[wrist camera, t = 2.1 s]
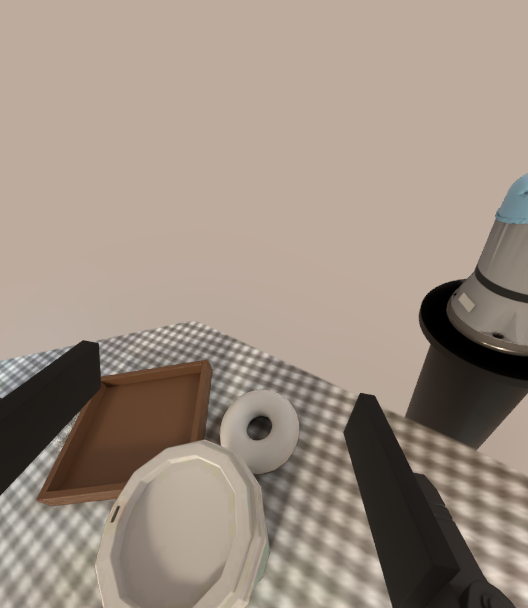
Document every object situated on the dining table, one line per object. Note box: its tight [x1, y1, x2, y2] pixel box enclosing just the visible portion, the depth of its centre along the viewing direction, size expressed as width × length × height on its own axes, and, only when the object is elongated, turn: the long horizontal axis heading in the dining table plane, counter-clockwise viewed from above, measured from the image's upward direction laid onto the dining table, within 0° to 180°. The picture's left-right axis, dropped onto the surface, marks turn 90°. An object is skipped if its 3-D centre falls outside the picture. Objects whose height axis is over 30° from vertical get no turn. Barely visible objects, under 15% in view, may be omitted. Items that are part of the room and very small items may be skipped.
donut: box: [220, 390, 299, 474], centre depth 33 cm, size 10×4×10 cm
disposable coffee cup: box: [95, 440, 270, 608], centre depth 21 cm, size 11×11×15 cm
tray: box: [36, 360, 213, 506], centre depth 36 cm, size 19×17×3 cm
